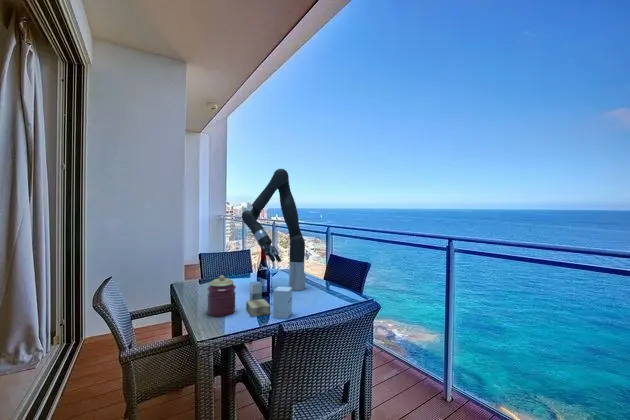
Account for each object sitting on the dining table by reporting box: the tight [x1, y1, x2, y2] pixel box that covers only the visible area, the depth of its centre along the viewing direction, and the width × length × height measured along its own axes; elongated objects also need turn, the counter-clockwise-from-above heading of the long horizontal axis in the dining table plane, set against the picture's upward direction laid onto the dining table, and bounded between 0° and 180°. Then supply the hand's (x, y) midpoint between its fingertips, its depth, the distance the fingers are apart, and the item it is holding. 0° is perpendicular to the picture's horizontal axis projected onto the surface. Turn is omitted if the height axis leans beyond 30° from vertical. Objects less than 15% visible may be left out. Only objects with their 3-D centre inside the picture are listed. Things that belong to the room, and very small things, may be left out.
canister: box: [206, 274, 237, 317], centre depth 141 cm, size 13×13×18 cm
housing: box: [249, 280, 263, 301], centre depth 157 cm, size 5×6×10 cm
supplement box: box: [272, 286, 293, 320], centre depth 139 cm, size 7×7×13 cm
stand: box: [245, 298, 271, 318], centre depth 143 cm, size 9×11×4 cm
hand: (277, 261), depth 169 cm, fingers open, 8 cm apart
